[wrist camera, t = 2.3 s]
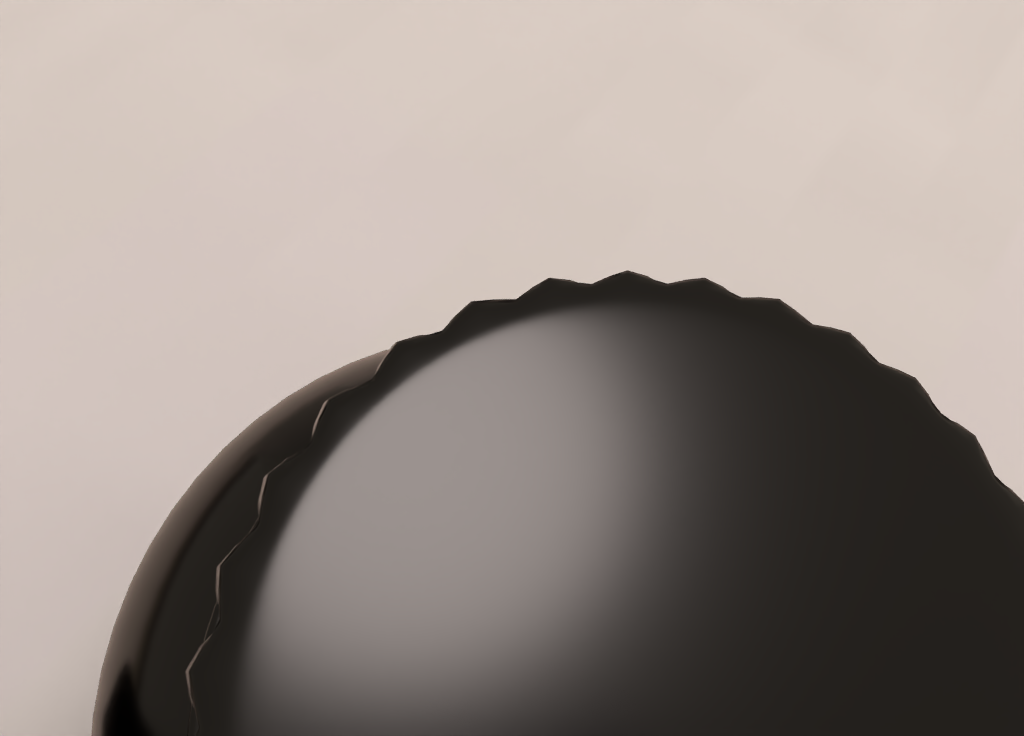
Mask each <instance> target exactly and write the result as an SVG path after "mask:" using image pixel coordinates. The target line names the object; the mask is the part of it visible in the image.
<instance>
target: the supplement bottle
mask: <svg viewBox="0 0 1024 736" xmlns="http://www.w3.org/2000/svg"><path fill="white" fill-rule="evenodd" d="M91 736H1024V502H1023V501H1022V500H1021V499H1020V498H1019V497H1018V496H1017V495H1016V494H1015V493H1014V492H1013V491H1012V490H1011V489H1010V488H1009V487H1007V486H1006V485H1004V484H1003V483H1002V482H1001V481H1000V480H999V479H998V478H997V477H996V476H995V475H994V473H993V470H992V468H991V466H990V464H989V462H988V460H987V457H986V455H985V453H984V451H983V449H982V448H981V446H980V444H979V442H978V440H977V438H976V436H975V435H974V434H972V433H971V432H969V431H968V430H967V429H965V428H964V427H962V426H961V425H960V424H958V423H956V422H954V421H951V420H950V419H948V418H947V417H946V416H944V415H943V414H941V413H940V411H939V410H938V409H937V407H936V406H935V405H934V403H933V402H932V400H931V398H930V396H929V394H928V393H927V392H926V391H925V389H924V388H923V387H922V385H921V384H920V383H919V381H918V380H917V379H916V378H915V377H913V376H910V375H908V374H906V373H904V372H902V371H900V370H898V369H895V368H892V367H889V366H886V365H884V364H881V363H879V362H878V361H877V360H876V359H875V358H874V357H873V356H872V355H871V354H870V353H869V352H868V351H867V349H866V348H865V346H863V345H862V344H861V343H860V342H859V341H858V340H857V339H856V338H855V337H854V336H853V335H852V334H851V333H849V332H846V331H842V330H838V329H835V328H831V327H825V326H819V325H813V324H812V323H810V322H809V321H808V320H807V319H805V318H804V317H803V316H802V315H801V314H799V313H798V312H797V311H796V310H794V309H793V308H791V307H790V306H788V305H787V304H786V303H784V302H783V301H781V300H780V299H773V298H762V297H753V298H741V297H739V296H737V295H735V294H733V293H731V292H729V291H728V290H727V289H725V288H724V287H723V286H721V285H718V284H716V283H714V282H712V281H710V280H708V279H706V278H699V279H689V280H683V281H679V282H674V283H669V284H666V283H663V282H660V281H656V280H653V279H652V278H650V277H648V276H645V275H642V274H638V273H635V272H631V271H624V272H621V273H618V274H615V275H612V276H609V277H607V278H604V279H602V280H600V281H598V282H595V283H593V284H586V283H577V282H574V281H571V280H565V279H555V278H548V279H546V280H544V281H543V282H541V283H539V284H538V285H536V286H534V287H532V288H531V289H530V290H528V291H527V292H526V293H524V294H523V295H521V296H520V297H519V298H517V299H497V300H483V301H472V302H470V303H469V304H468V305H467V306H465V307H464V308H463V309H462V310H461V311H460V312H459V313H458V314H457V315H456V316H455V317H454V318H453V319H452V320H451V321H450V322H449V324H448V325H447V326H446V327H445V328H444V329H443V331H440V332H436V333H433V334H430V335H419V336H415V337H412V338H408V339H405V340H402V341H398V342H396V343H395V344H394V345H393V346H392V347H391V348H390V349H389V350H385V351H382V352H379V353H376V354H374V355H371V356H368V357H366V358H363V359H360V360H357V361H355V362H352V363H350V364H347V365H345V366H343V367H341V368H339V369H337V370H335V371H333V372H331V373H329V374H327V375H324V376H322V377H320V378H318V379H316V380H315V381H313V382H311V383H310V384H308V385H306V386H305V387H303V388H301V389H300V390H298V391H296V392H295V393H293V394H291V395H290V396H288V397H286V398H285V399H284V400H282V401H281V402H279V403H278V404H277V405H275V406H274V407H273V408H271V409H270V410H269V411H267V412H266V413H265V414H263V415H262V416H260V417H259V418H258V419H256V420H255V421H254V422H253V423H251V424H250V425H249V426H248V427H247V428H246V429H245V430H244V431H243V432H241V433H240V434H239V435H238V436H237V437H236V438H235V439H234V440H232V441H231V442H230V443H229V444H228V445H227V446H226V447H225V448H224V449H223V450H222V451H221V452H220V453H219V454H218V455H217V456H216V457H215V458H214V459H213V461H212V462H211V463H210V464H209V465H208V466H207V467H206V468H205V469H204V470H203V471H202V472H201V473H200V475H199V476H198V477H197V478H196V479H195V480H194V482H193V483H192V484H191V486H190V487H189V488H188V490H187V491H186V492H185V494H184V495H183V496H182V497H181V499H180V500H179V501H178V503H177V504H176V505H175V507H174V508H173V509H172V511H171V512H170V514H169V515H168V517H167V519H166V520H165V522H164V523H163V525H162V527H161V528H160V530H159V531H158V533H157V535H156V536H155V538H154V539H153V541H152V543H151V544H150V546H149V548H148V550H147V552H146V554H145V556H144V558H143V560H142V562H141V564H140V566H139V568H138V570H137V572H136V574H135V576H134V578H133V580H132V582H131V584H130V586H129V588H128V591H127V594H126V596H125V599H124V601H123V604H122V606H121V609H120V612H119V614H118V617H117V619H116V622H115V624H114V627H113V631H112V634H111V638H110V641H109V645H108V648H107V652H106V656H105V659H104V663H103V666H102V670H101V675H100V680H99V686H98V691H97V697H96V702H95V708H94V713H93V723H92V735H91Z"/></svg>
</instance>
